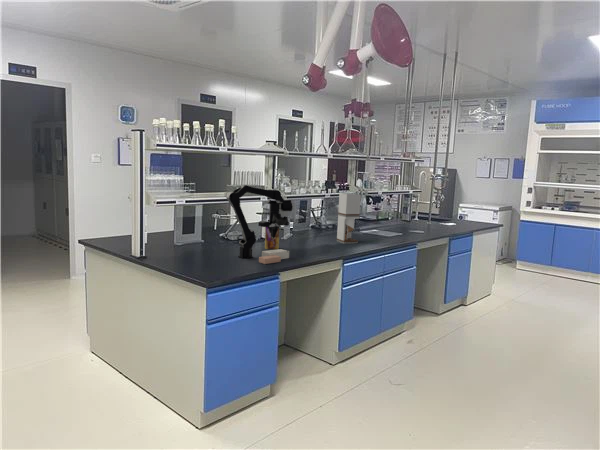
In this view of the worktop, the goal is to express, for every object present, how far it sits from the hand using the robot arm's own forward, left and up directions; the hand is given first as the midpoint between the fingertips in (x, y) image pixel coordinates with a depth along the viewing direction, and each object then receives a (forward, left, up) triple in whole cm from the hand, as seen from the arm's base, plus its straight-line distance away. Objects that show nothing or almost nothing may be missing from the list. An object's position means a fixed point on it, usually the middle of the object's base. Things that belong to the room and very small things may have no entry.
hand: (273, 237), depth 260 cm
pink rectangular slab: (-12, -12, -11) cm, 20 cm away
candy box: (+14, +19, -11) cm, 26 cm away
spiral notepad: (-2, -5, -11) cm, 12 cm away
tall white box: (+77, +11, -11) cm, 79 cm away
